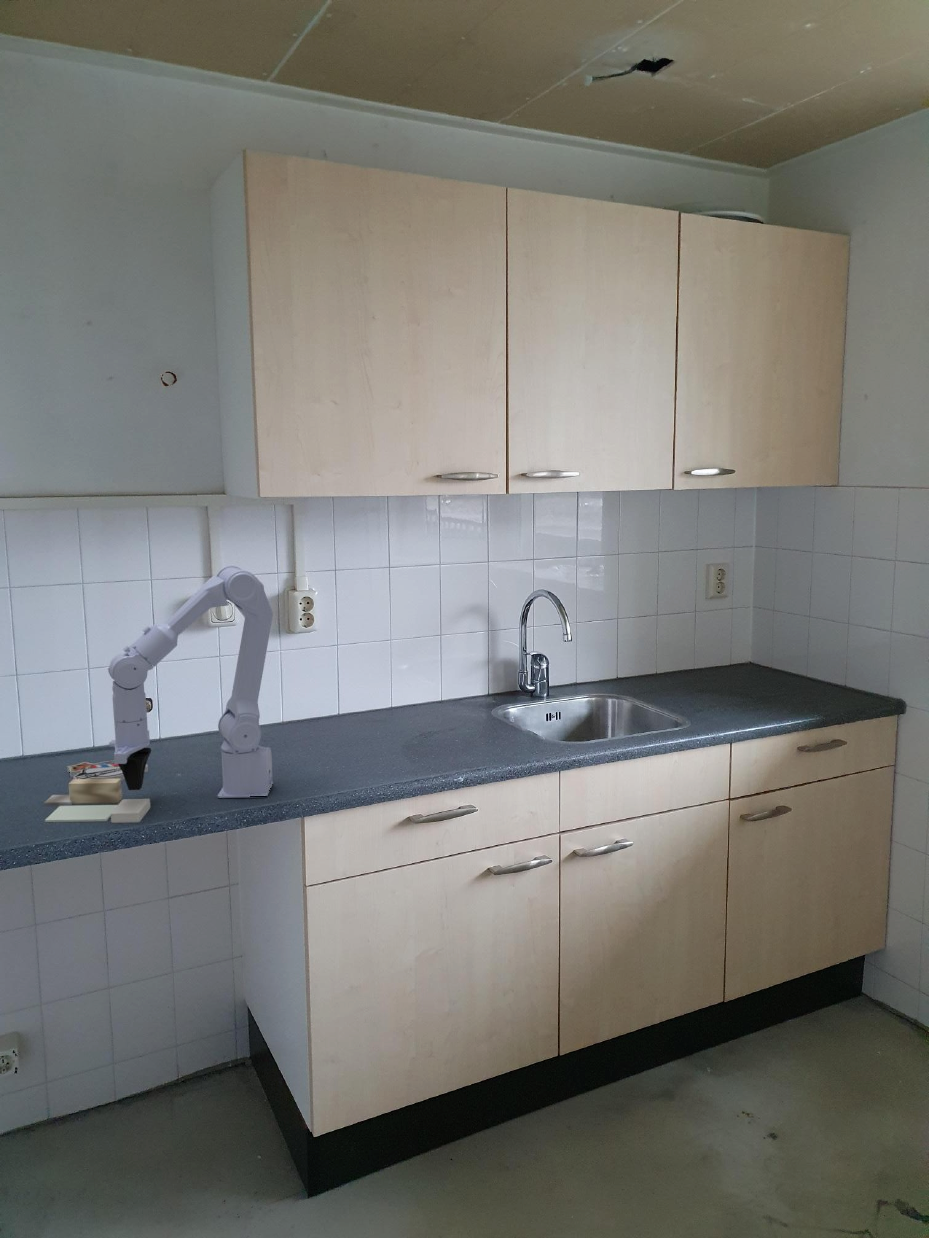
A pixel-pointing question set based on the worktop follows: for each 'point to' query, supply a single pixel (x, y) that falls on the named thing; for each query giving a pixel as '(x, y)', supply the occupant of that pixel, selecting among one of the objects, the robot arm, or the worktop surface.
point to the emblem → (97, 771)
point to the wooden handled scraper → (89, 792)
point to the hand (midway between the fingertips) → (135, 788)
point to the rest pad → (81, 813)
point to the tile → (130, 810)
